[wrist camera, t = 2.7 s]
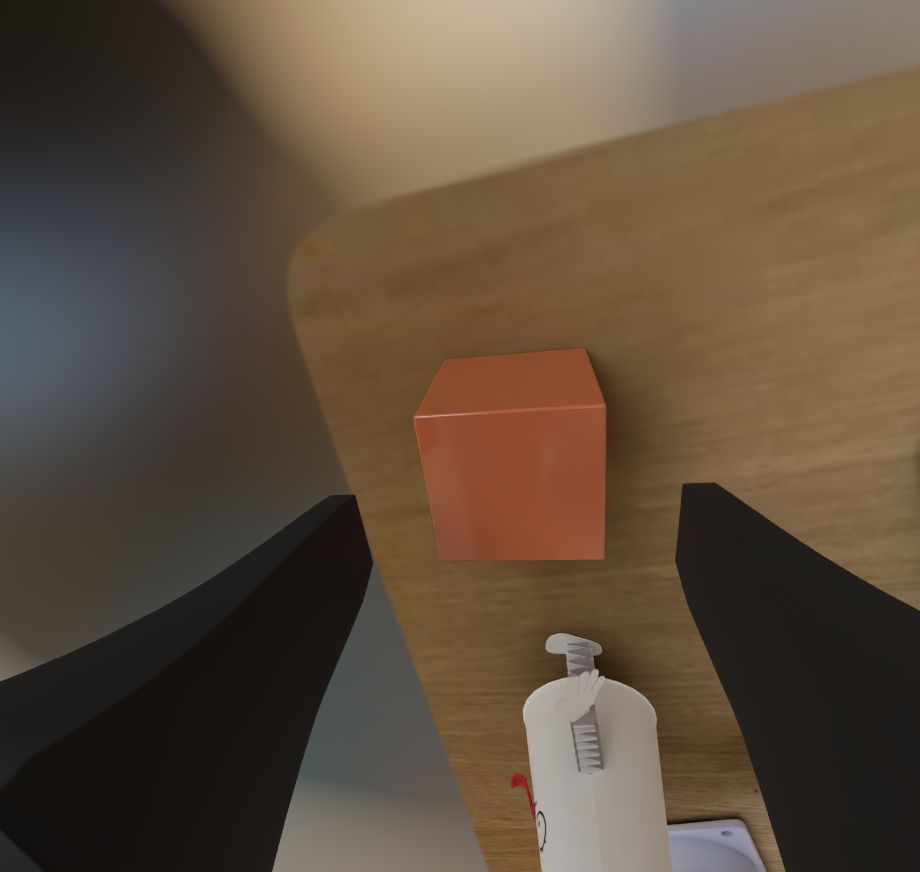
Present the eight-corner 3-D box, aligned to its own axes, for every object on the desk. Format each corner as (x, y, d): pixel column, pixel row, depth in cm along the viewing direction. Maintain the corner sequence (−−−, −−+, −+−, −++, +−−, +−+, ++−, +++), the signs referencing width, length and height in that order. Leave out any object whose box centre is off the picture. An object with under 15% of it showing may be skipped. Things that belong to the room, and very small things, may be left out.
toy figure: (488, 571, 19) (462, 819, 11) (635, 559, 18) (713, 827, 10) (535, 751, 24) (537, 1006, 16) (651, 751, 23) (712, 1027, 15)
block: (587, 472, 16) (605, 561, 12) (460, 477, 17) (438, 562, 13) (585, 346, 14) (607, 404, 10) (442, 358, 15) (411, 416, 11)
